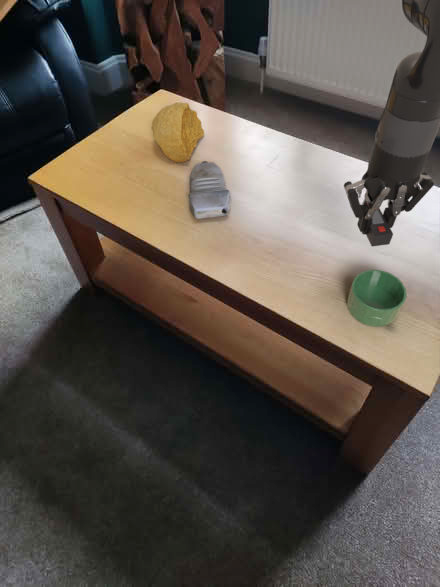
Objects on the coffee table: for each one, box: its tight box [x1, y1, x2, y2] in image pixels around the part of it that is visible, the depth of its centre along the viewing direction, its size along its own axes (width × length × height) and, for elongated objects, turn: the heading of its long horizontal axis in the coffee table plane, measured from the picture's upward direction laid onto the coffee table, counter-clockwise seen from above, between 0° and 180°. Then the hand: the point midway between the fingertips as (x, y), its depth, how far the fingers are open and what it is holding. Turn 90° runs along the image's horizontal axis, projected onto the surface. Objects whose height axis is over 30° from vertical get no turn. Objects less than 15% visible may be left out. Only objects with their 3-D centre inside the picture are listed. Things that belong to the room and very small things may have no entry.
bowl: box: [346, 269, 407, 328], centre depth 79 cm, size 9×9×5 cm
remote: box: [357, 207, 394, 247], centre depth 72 cm, size 7×3×3 cm, turn 7°
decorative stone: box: [151, 102, 205, 163], centre depth 112 cm, size 13×15×15 cm
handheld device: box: [188, 160, 232, 220], centre depth 101 cm, size 10×20×5 cm, turn 6°
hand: (373, 229), depth 73 cm, fingers closed on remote, 3 cm apart
